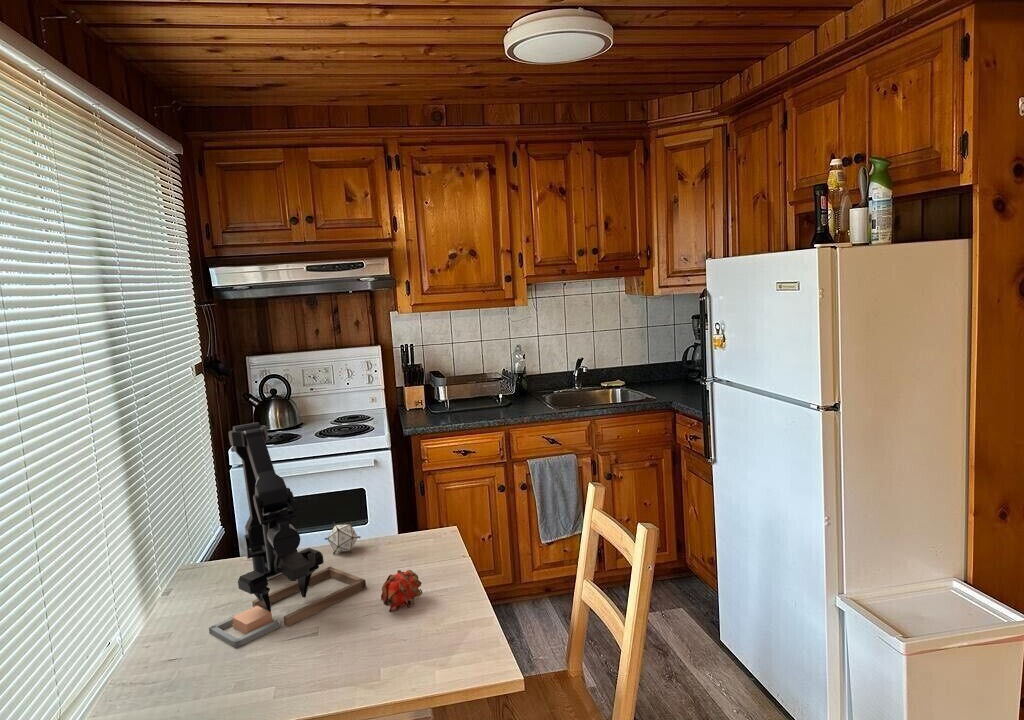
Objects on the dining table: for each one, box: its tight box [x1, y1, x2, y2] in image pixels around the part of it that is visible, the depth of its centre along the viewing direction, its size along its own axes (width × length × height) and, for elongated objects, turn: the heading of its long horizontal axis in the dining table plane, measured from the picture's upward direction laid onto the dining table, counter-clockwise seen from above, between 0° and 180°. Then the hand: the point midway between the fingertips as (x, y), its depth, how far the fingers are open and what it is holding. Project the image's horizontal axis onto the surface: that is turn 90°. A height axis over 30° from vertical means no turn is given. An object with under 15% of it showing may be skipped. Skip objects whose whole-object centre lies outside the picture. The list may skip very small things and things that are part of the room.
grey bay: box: [208, 616, 281, 649], centre depth 155 cm, size 11×10×1 cm
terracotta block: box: [231, 606, 274, 635], centre depth 157 cm, size 6×6×3 cm
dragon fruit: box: [380, 569, 423, 613], centre depth 160 cm, size 8×8×12 cm
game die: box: [324, 521, 361, 555], centre depth 194 cm, size 9×8×10 cm
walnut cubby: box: [251, 566, 367, 627], centre depth 168 cm, size 14×21×2 cm
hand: (286, 605), depth 163 cm, fingers open, 9 cm apart
